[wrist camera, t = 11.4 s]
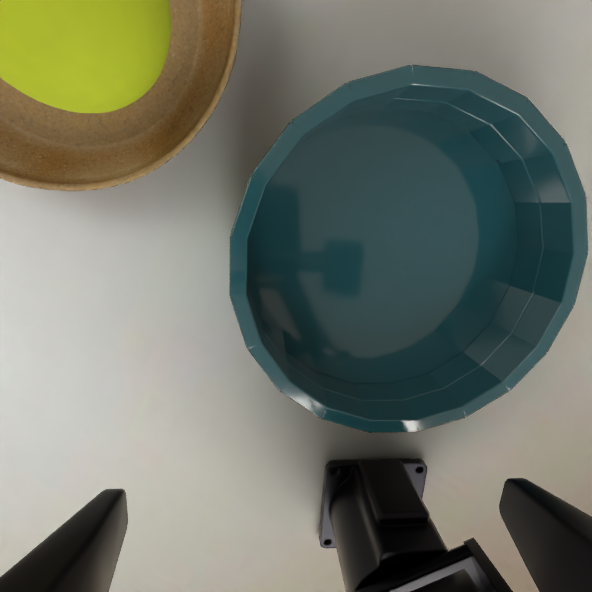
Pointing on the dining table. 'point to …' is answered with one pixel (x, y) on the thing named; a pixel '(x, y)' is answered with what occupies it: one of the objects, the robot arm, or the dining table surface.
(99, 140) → the plant saucer
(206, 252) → the dining table surface
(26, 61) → the ball
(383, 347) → the glazed bowl
